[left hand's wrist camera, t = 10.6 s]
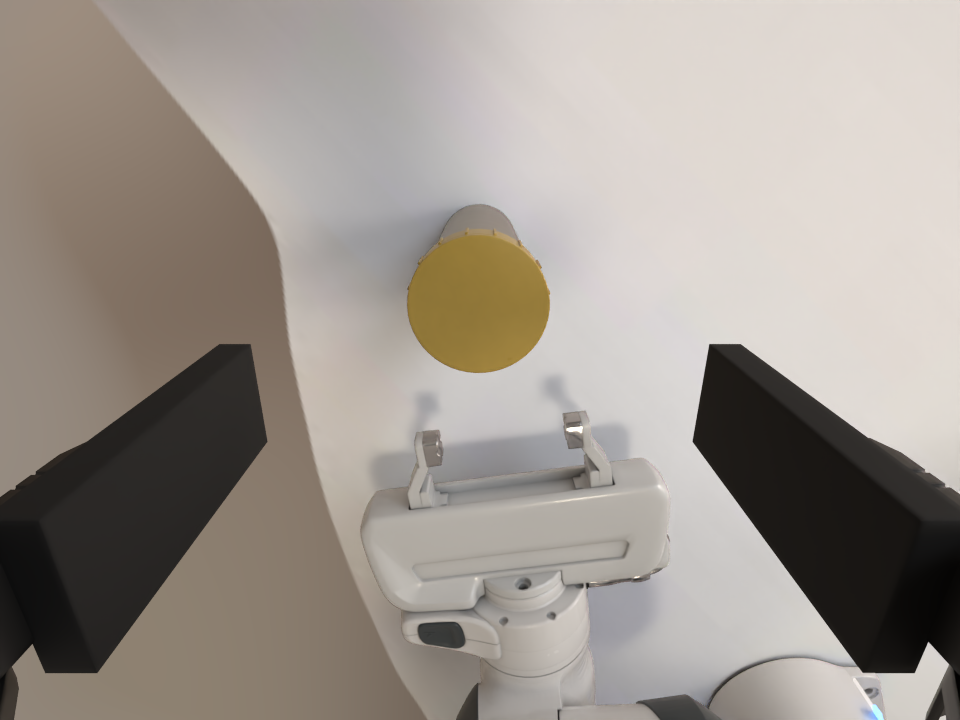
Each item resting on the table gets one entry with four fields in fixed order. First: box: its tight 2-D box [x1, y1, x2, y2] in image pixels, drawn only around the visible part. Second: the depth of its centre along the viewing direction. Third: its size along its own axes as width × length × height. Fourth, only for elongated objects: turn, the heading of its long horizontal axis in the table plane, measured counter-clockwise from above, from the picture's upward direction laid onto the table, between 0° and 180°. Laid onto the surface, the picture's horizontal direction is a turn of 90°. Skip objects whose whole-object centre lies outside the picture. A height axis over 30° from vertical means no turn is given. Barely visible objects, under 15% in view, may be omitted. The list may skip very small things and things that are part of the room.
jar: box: [438, 204, 519, 242], centre depth 28 cm, size 5×5×16 cm
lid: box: [407, 228, 550, 373], centre depth 21 cm, size 6×6×2 cm
